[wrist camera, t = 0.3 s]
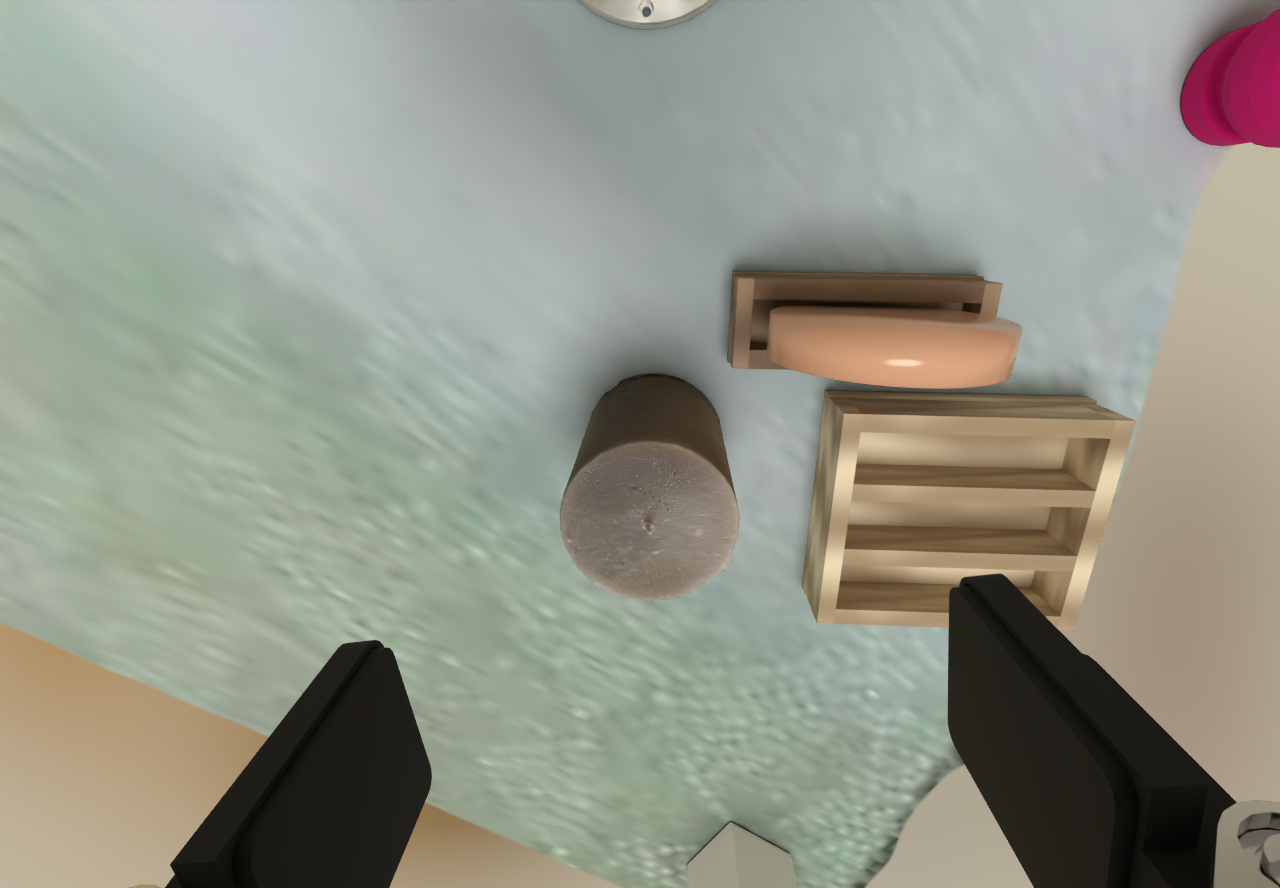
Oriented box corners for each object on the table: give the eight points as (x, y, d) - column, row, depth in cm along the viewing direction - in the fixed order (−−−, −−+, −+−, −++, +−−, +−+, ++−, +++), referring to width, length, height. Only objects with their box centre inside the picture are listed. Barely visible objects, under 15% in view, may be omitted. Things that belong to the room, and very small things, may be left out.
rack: (825, 390, 44) (844, 410, 39) (1085, 396, 44) (1136, 417, 39) (801, 586, 50) (816, 625, 45) (1033, 594, 49) (1073, 634, 44)
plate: (755, 301, 41) (793, 334, 29) (955, 304, 41) (1079, 340, 29) (752, 337, 42) (789, 385, 30) (948, 341, 42) (1066, 391, 30)
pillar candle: (614, 353, 44) (588, 419, 30) (743, 402, 45) (776, 489, 31) (570, 472, 47) (528, 582, 33) (690, 516, 48) (699, 641, 34)
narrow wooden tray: (732, 271, 42) (738, 275, 39) (976, 275, 41) (1003, 280, 38) (727, 360, 44) (732, 371, 41) (959, 365, 43) (983, 376, 40)
